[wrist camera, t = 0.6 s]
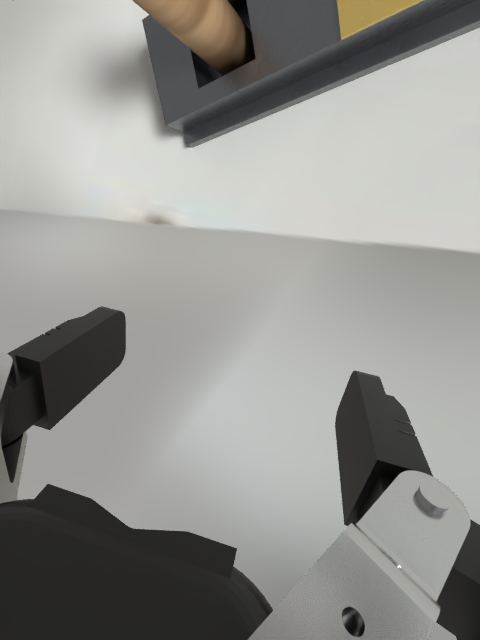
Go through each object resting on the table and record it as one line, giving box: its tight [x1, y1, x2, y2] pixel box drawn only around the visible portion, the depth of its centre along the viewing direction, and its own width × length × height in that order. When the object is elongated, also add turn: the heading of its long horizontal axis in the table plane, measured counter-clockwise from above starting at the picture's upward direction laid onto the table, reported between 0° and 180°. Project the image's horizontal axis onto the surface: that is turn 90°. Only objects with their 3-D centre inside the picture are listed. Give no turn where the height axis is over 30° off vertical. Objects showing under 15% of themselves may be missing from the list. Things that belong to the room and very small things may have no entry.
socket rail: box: [142, 0, 480, 147], centre depth 23 cm, size 11×28×4 cm, turn 103°
